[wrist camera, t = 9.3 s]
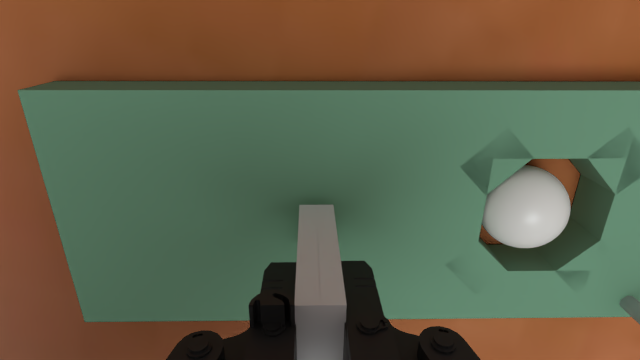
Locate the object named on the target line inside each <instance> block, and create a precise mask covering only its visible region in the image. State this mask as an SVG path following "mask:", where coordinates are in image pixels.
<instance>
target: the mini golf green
mask: <svg viewBox="0 0 640 360" xmlns="http://www.w3.org/2000/svg"><path fill="white" fill-rule="evenodd" d="M18 93H19V97H20V100H21V104H22V107H23V111H24V114H25V118H26V121H27V124H28V128H29V131H30V135H31V138H32V142H33V145H34V149H35V152H36V155H37V159H38V162H39V166H40V169H41V173H42V176H43V180H44V183H45V186H46V190H47V193H48V197H49V200H50V204H51V207H52V210H53V214H54V217H55V221H56V224H57V228H58V231H59V235H60V238H61V241H62V245H63V248H64V252H65V255H66V259H67V262H68V266H69V269H70V272H71V276H72V279H73V283H74V286H75V290H76V293H77V297H78V300H79V303H80V307H81V310H82V314H83V317H84V321H85V322H139V321H244V320H250V319H249V306H248V305H249V303H250V301H251V299H253V298H254V297H255V296H256V295H258V294H260V291H261V286H262V281H263V274H264V270H265V269H266V268H267V267H268V265H269V264H270V263H271V262H297V243H298V224H299V205H333V206H334V213H335V221H336V228H337V236H338V243H339V251H340V258H341V261H365V262H366V263H367V264H368V265H369V266H370V267H371V268H372V270H373V274H374V279H375V282H376V287H377V290H378V294H379V298H380V302H381V306H382V310H383V313H384V316H385V317H386V318H387V319H453V318H558V317H632V318H633V319H635V320H636V321H637V322H638V323H639V324H640V82H516V81H53V82H49V83H45V84H41V85H37V86H33V87H29V88H25V89H20V90H18ZM532 159H569V160H570V161H571V162H572V164H573V165H574V166H575V167H576V169H577V170H578V171H579V172H580V174H581V176H580V179H579V183H578V187H577V190H576V194H575V197H574V201H573V204H572V208H571V212H570V217H569V220H568V223H567V225H566V227H565V228H564V230H563V231H562V232H561V234H560V235H558V236H557V237H556V238H555V239H554V240H552V241H551V242H549V243H547V244H544V245H542V246H539V247H534V248H516V247H512V246H508V245H505V244H500V245H487V244H486V243H485V242H484V241H483V240H482V239H481V238H480V237H479V235H480V230H481V224H482V219H483V213H484V208H485V202H486V197H487V194H488V193H490V192H491V191H492V190H493V189H495V188H496V187H497V186H499V185H500V184H501V183H502V182H504V181H505V180H506V179H507V178H509V177H510V176H511V175H513V174H514V173H515V172H516V171H518V170H519V169H520V168H521V167H523V166H524V165H525V164H527V163H528V162H529V161H530V160H532Z"/></svg>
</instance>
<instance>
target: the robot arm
mask: <svg viewBox="0 0 640 360" xmlns="http://www.w3.org/2000/svg"><path fill="white" fill-rule="evenodd" d="M248 306H249V319H250V328H249V329H248V330H246V331H245V332H243V333H241V334H239V335H237V336H234V337H230V338H227V339H223V340H222V338H221V337H220V336H219V335H218V334H217V333H215V332H212V331H198V332H194V333H191V334H189V335H188V336H186V337H184V338H183V339H182V340H181V341H180V342H179V343H178V344H177V345H176V346H175V348H174V349H173V351H172V352H171V353H170V355H169V356H168V358H167V359H166V360H480V358H479V357H478V356H477V355H476V353H475V352H474V351H473V350H472V349H471V347H470V346H469V345H468V344H467V342H466V341H465V340H464V339H463V338H462V337H461V336H460V335H459V334H458V333H457V332H455V331H453V330H451V329H449V328H444V327H440V326H436V327H429V328H427V329H424V330H423V331H422V333H421V334H420V336H417V335H413V334H409V333H405V332H402V331H400V330H398V329H396V328H394V327H393V326H392V325H391V324H390V322H389V320H388V319H387V318H386V317H385V316H384V313H383V310H382V306H381V302H380V298H379V294H378V290H377V287H376V282H375V279H374V274H373V270H372V268H371V267H370V266H369V265H368V264H367V263H366V262H365V261H341V258H340V251H339V243H338V236H337V228H336V221H335V213H334V206H333V205H299V224H298V243H297V262H271V263H270V264H269V265H268V267H267V268H266V269H265V270H264V274H263V281H262V286H261V291H260V294H258V295H256V296H255V297H254V298H253V299H251V301H250V303H249V305H248Z"/></svg>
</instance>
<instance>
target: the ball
mask: <svg viewBox="0 0 640 360" xmlns="http://www.w3.org/2000/svg"><path fill="white" fill-rule="evenodd" d="M570 211H571V206H570V199H569V196H568V193H567V191H566V189H565V187H564V186H563V184H562V183H561V182H560V181H559V180H558V179H557V178H556V177H555V176H554V175H552V174H551V173H549V172H548V171H546V170H544V169H541V168H538V167H535V166H530V165H524V166H523V167H521V168H520V169H519V170H518V171H516V172H515V173H514V174H513V175H511V176H510V177H509V178H507V179H506V180H505V181H504V182H502V183H501V184H500V185H499V186H497V187H496V188H495V189H493V190H492V191H491V192H490V193H488V194H487V197H486V202H485V208H484V213H483V219H482V225H483V227H484V228H485V230H486V231H487V232H488V233H489V234H490V235H491V236H492V237H493V238H495V239H496V240H498V241H499V242H501V243H503V244H505V245H508V246H512V247H516V248H534V247H539V246H542V245H544V244H547V243H549V242H551V241H552V240H554V239H555V238H556V237H557V236H558V235H560V234H561V232H562V231H563V230H564V228H565V227H566V225H567V223H568V220H569V217H570Z"/></svg>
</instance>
